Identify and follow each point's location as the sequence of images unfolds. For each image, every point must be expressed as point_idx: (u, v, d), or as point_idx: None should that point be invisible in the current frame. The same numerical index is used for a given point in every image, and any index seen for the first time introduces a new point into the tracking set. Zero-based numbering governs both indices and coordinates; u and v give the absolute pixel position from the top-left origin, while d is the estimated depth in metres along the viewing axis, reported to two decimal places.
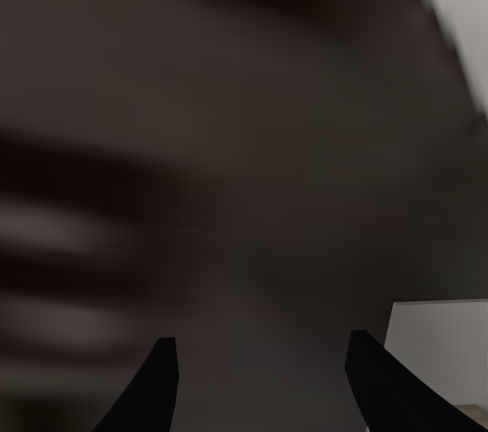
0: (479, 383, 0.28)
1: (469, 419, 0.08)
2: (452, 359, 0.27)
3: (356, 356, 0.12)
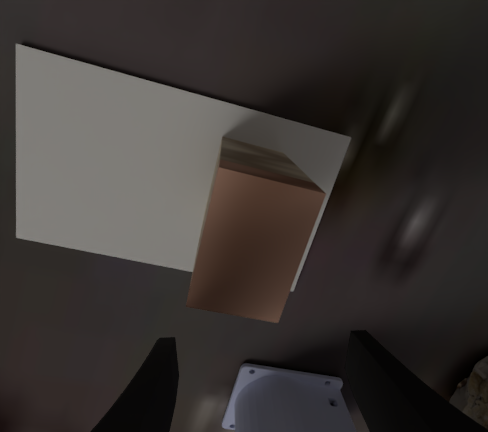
0: (176, 130, 0.18)
1: (469, 419, 0.08)
2: (118, 171, 0.19)
3: (356, 356, 0.12)
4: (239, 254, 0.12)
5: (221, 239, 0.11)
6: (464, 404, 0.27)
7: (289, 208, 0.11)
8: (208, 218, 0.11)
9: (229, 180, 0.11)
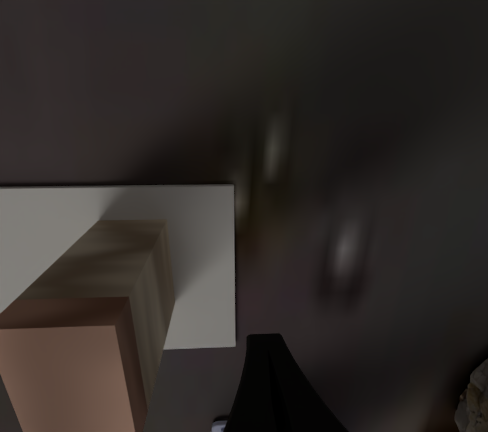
0: (50, 227, 0.18)
1: (339, 426, 0.08)
2: (11, 278, 0.19)
3: None
4: (56, 399, 0.11)
5: (29, 390, 0.10)
6: (467, 422, 0.24)
7: (82, 347, 0.10)
8: (3, 376, 0.10)
9: (2, 338, 0.09)
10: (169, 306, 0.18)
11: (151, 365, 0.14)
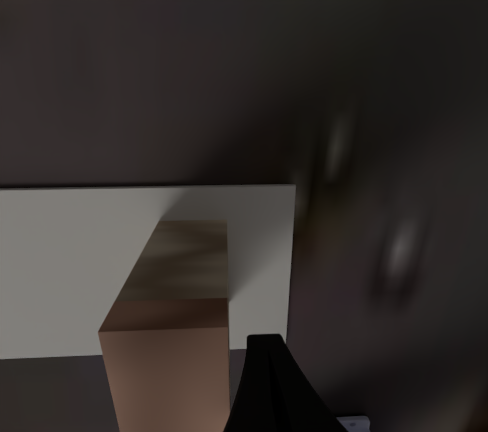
0: (111, 227, 0.18)
1: (339, 426, 0.08)
2: (69, 279, 0.19)
3: None
4: (158, 401, 0.10)
5: (133, 393, 0.10)
6: None
7: (192, 350, 0.10)
8: (110, 378, 0.10)
9: (114, 340, 0.09)
10: None
11: (229, 366, 0.14)
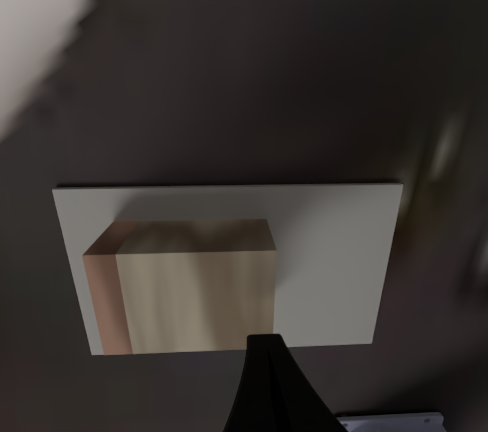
0: None
1: (339, 426, 0.08)
2: None
3: None
4: None
5: None
6: None
7: None
8: None
9: None
10: (242, 335, 0.16)
11: (154, 334, 0.16)
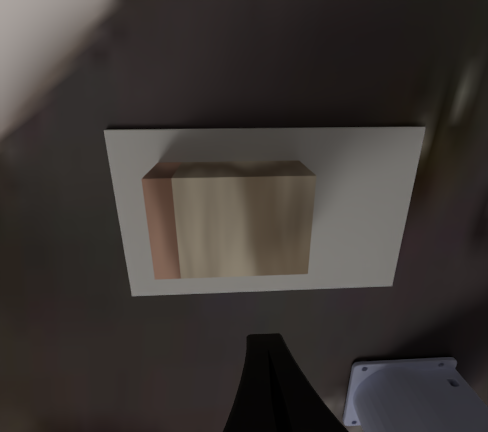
0: None
1: (339, 426, 0.08)
2: None
3: None
4: None
5: None
6: None
7: None
8: None
9: None
10: (281, 260, 0.17)
11: (202, 259, 0.17)
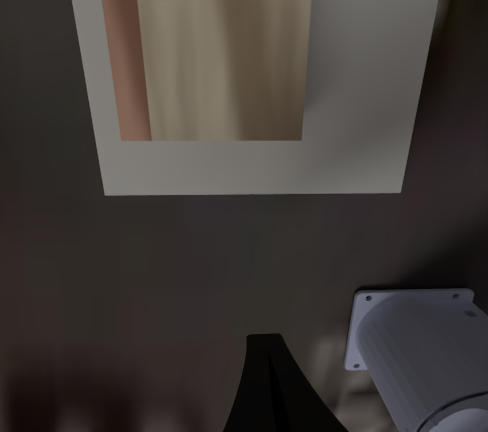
0: None
1: (339, 426, 0.08)
2: None
3: None
4: None
5: None
6: None
7: None
8: None
9: None
10: (269, 120, 0.15)
11: (176, 114, 0.15)
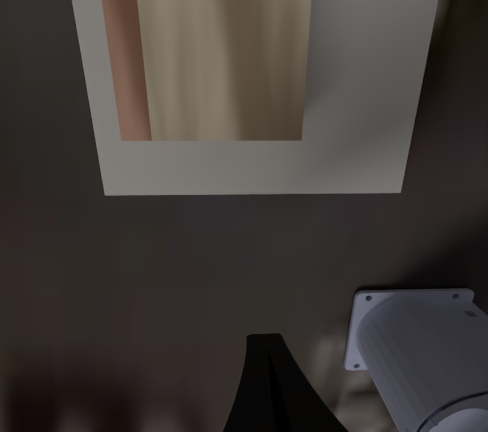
0: None
1: (339, 426, 0.08)
2: None
3: None
4: None
5: None
6: None
7: None
8: None
9: None
10: (269, 120, 0.15)
11: (176, 114, 0.15)
